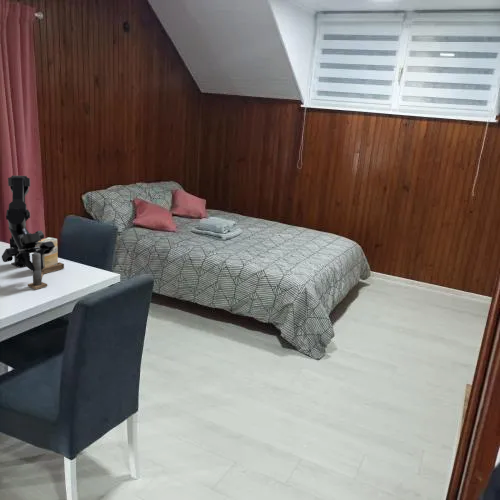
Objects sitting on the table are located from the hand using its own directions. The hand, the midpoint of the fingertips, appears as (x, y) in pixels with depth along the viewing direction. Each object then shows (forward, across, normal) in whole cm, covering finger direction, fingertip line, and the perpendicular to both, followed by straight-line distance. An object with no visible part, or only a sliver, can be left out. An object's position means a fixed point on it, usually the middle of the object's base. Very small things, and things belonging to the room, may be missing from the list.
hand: (38, 269), depth 179 cm
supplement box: (-6, +14, +17) cm, 22 cm away
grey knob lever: (0, +8, +10) cm, 13 cm away
